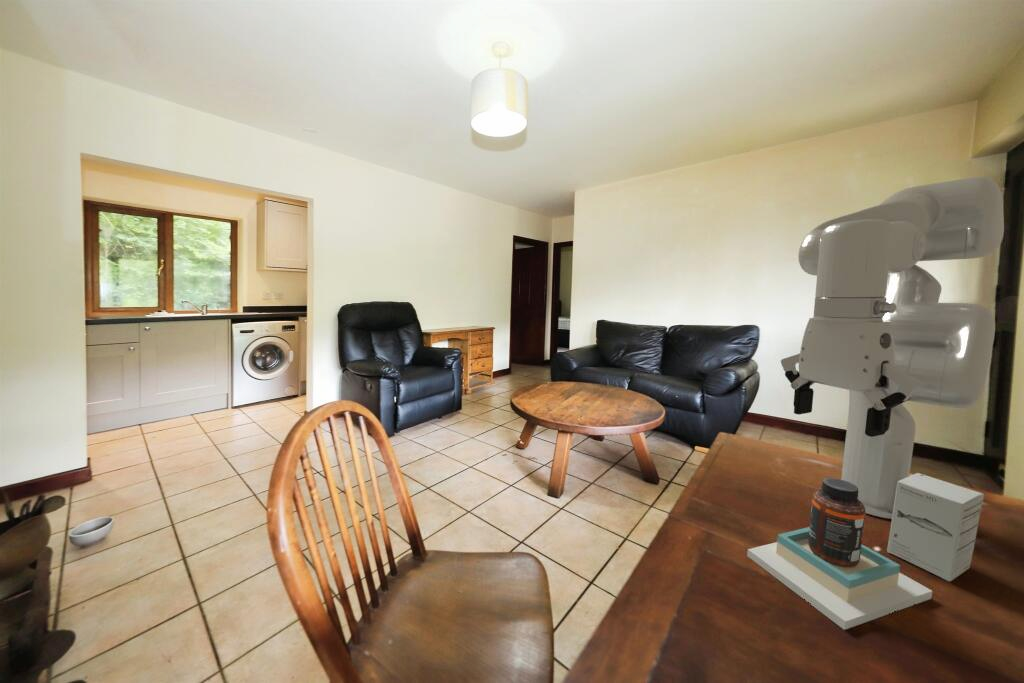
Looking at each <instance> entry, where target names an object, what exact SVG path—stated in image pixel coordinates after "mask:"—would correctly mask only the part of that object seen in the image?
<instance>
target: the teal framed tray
mask: <svg viewBox="0 0 1024 683" xmlns="http://www.w3.org/2000/svg"><path fill="white" fill-rule="evenodd" d="M809 529H810V526H807V527H803V528H799V529H795V530H791V531H788V532H783V533H779V534H777V538H776V539H777V540H776V542H773V543H768V544H763V545H760V546H756V547H752V548H748V549H747V554H746V555H747V557H748V558H749V559H750V560H752V561H753V562H754V563H755V564H757V565H759V567H761V568H762V569H764V570H765V571H766V572H768V573H769V574H770V575H772V576H773V577H774V578H775V579H777V580H778V581H780V582H781V583H782V584H783V585H785V587H787V588H788V589H790V590H791V591H793V592H794V593H795V594H796V595H798V596H799V597H801V599H803V600H804V599H805V600H804V601H806V602H807V603H808V602H809V603H808V604H810V603H811V604H810V605H811V606H812V607H813V608H814V609H816V610H817V611H818V612H820V613H821V614H822V615H824V616H826V617H827V618H828V619H829V620H831V621H832V622H833V623H834V624H836V625H837V626H839V628H841V629H842V630H843V631H845V630H848V629H850V628H854V627H856V626H859V625H862V624H864V623H867V622H871V621H873V620H876V619H878V618H879V619H880V618H881V617H884V616H888V615H890V614H892V612H893V613H895V612H894V611H896V612H898V611H900V610H901V611H902V610H904V609H906V608H909V607H912V606H915V605H918V604H920V603H923V602H926V601H929V600H931V599H932V596H933V590H932V589H930V588H928V587H926V586H924V585H922V584H921V583H919V582H918V581H915V580H914V579H912V578H911V577H908V576H907V575H906V574H903V573H902V572H900V569H901V564H899V563H897V562H895V561H893V560H891V559H890V558H888V557H886V556H885V555H882V554H880V553H879V552H876V551H875V550H873V549H871V548H870V547H868V546H866V545H864V544H862V545H861V554H860V560H859V563H858V564H857V565H855V566H841V565H837V564H834V563H831V562H828V561H826V560H824V559H822V558H820V557H819V556H817V555H816V554H815V553H814V552H813V551H812V550H811V549H810V547H809V545H808V542H809V540H808V539H809ZM914 604H915V605H914ZM897 610H898V611H897ZM889 613H890V614H889Z"/></svg>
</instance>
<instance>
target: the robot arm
mask: <svg viewBox="0 0 1024 683" xmlns="http://www.w3.org/2000/svg"><path fill="white" fill-rule="evenodd" d="M1004 215H1005V214H1004V201H1003V194H1002V191H1001V188H1000V186H999V185H998V184H997V182H996V181H994V180H993V179H992V178H989V177H986V176H973V177H967V178H960V179H954V180H949V181H947V180H946V181H942V182H936V183H930V184H922V185H916V186H912V187H909V188H908V187H907V188H905V189H902V190H899V191H897V192H895V193H893V194H892V195H889V196H888V197H887V198H886V199H885V200H883V201H882V202H881V203H879V204H878V205H874V206H871V207H868V208H865V209H862V210H859V211H856V212H853V213H848V214H847V215H846V214H845V215H841V216H839V217H836V218H833V219H829V220H827V221H825V222H823V223H821V224H818V225H817V226H816V227H814V228H813V229H812V230H811V231H810V232H808V234H807V235H806V236H805V237H804V238H803V240H802V242H801V244H800V246H799V250H798V263H799V266H800V267H801V270H802V271H803V272H805V273H806V274H808V275H811V276H816V283H815V284H816V285H815V297H814V305H813V317H810V318H808V321H807V324H806V327H805V329H804V330H805V331H804V334H803V336H802V342H801V346H800V352H799V353H797V354H794V355H791V356H788V357H785V358H782V359H781V360H780V363H781V366H782V368H783V371H784V372H785V373H784V376H785V377H786V379H787V380H788V382H789V383H790V387H791V389H793V390H794V393H793V414H795V415H804V414H810V413H812V411H813V402H814V392H815V391H814V388H811V386H812V385H814V384H820V385H823V386H829V387H835V388H840V389H843V390H848V392H849V405H848V416H847V426H846V433H845V442H844V443H845V444H844V450H843V451H844V452H843V460H842V470H841V476H840V477H841V479H840V480H844V481H847V482H850V483H852V484H854V485H855V486H857V487H858V497H857V498H858V500H859V501H861V502H862V504H863V505H864V507H865V514H868V515H870V516H871V515H872V516H875V517H879V518H883V519H889V520H892V515H893V508H894V502H895V495H896V489H897V483H898V481H899V480H902V479H904V478H907V477H909V476H910V473H911V472H910V471H911V466H912V459H913V452H914V446H915V445H914V444H915V436H916V428H917V426H916V422H915V420H914V417H913V415H912V414H911V412H910V411H909V410H908V409H907V407H905V405H904V404H903V403H906V402H914V403H919V404H920V403H921V404H926V405H932V406H933V405H934V406H938V407H943V408H944V407H945V408H953V409H968V408H972V407H973V406H975V405H976V404H978V403H979V402H980V400H981V399H982V396H983V394H984V391H985V386H986V382H987V378H988V371H989V369H990V368H989V367H990V362H991V357H992V350H993V347H994V346H993V345H994V341H995V336H996V335H995V333H996V321H995V320H996V319H995V316H994V313H993V312H992V311H991V310H990V308H988V307H986V306H984V305H981V304H978V303H977V304H976V303H969V302H968V303H967V302H966V303H965V302H939V300H940V297H941V293H942V285H941V283H940V281H939V280H937V279H936V277H935V276H933V275H932V274H931V273H930V272H929V271H927V270H925V269H924V268H923V267H921V266H919V265H917V264H918V262H931V261H932V262H933V261H948V260H949V261H951V260H967V259H968V260H970V259H979V258H983V257H987V256H990V255H991V254H993V253H994V252H996V251H997V249H998V248H999V247H1000V246H1001V244H1002V241H1003V239H1004V234H1005V233H1004V232H1005V218H1004V217H1005V216H1004ZM797 364H798V370H797V367H796V365H797Z"/></svg>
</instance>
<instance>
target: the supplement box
mask: <svg viewBox="0 0 1024 683" xmlns="http://www.w3.org/2000/svg"><path fill="white" fill-rule="evenodd" d="M984 498H985V493H982V492H980V491H977V490H974V489H969V488H967V487H963V486H960V485H956V484H954V483H951V482H947V481H944V480H941V479H939V478H935V477H932V476H928V475H926V474H923V473H919V472H916V473H914V474H912V475H909V477H907V478H904V479H902V480H899V481H898V483H897V489H896V495H895V502H894V508H893V515H892V519H891V524H890V528H889V529H890V530H889V534H888V535H889V536H888V543H887V549H886V551H887V553H888V554H891V555H893V556H896V557H898V558H900V559H902V560H905V561H906V562H908V563H911V564H912V565H914V566H917V567H919V568H921V569H924V570H925V571H927V572H929V573H932V574H933V575H935V576H938V577H939V578H941V579H943V580H945V581H946V582H949V583H950V582H952V581H954V580H956V578H958V577H959V576H960V575H962V574H963V573H965V572H966V571H967V570H969V569H970V567H971V565H972V564H971V563H972V558H973V553H974V549H975V544H976V538H977V534H978V527H979V521H980V515H981V511H982V506H983V502H984Z"/></svg>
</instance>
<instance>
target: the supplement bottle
mask: <svg viewBox="0 0 1024 683" xmlns="http://www.w3.org/2000/svg"><path fill="white" fill-rule="evenodd" d="M857 497H858V487H857V486H855V485H854V484H852V483H850V482H847V481H844V480H841V479H840V478H835V477H826V478H824V479H822V485H821V489H819V490H816V491H815V492H814V493H813V495H812V499H811V510H810V521H809V527H810V529H809V539H808V540H809V542H808V545H809V547H810V549H811V550H812V551H813V552H814V553H815V554H816V555H817V556H819V557H820V558H822V559H824V560H826V561H828V562H831V563H834V564H837V565H841V566H855V565H857V564H858V563H859V560H860V554H861V545H863V536H864V528H865V527H864V525H865V520H866V513H865V507H864V505H863V504H862V502H861V501H859V500H858V498H857Z"/></svg>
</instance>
